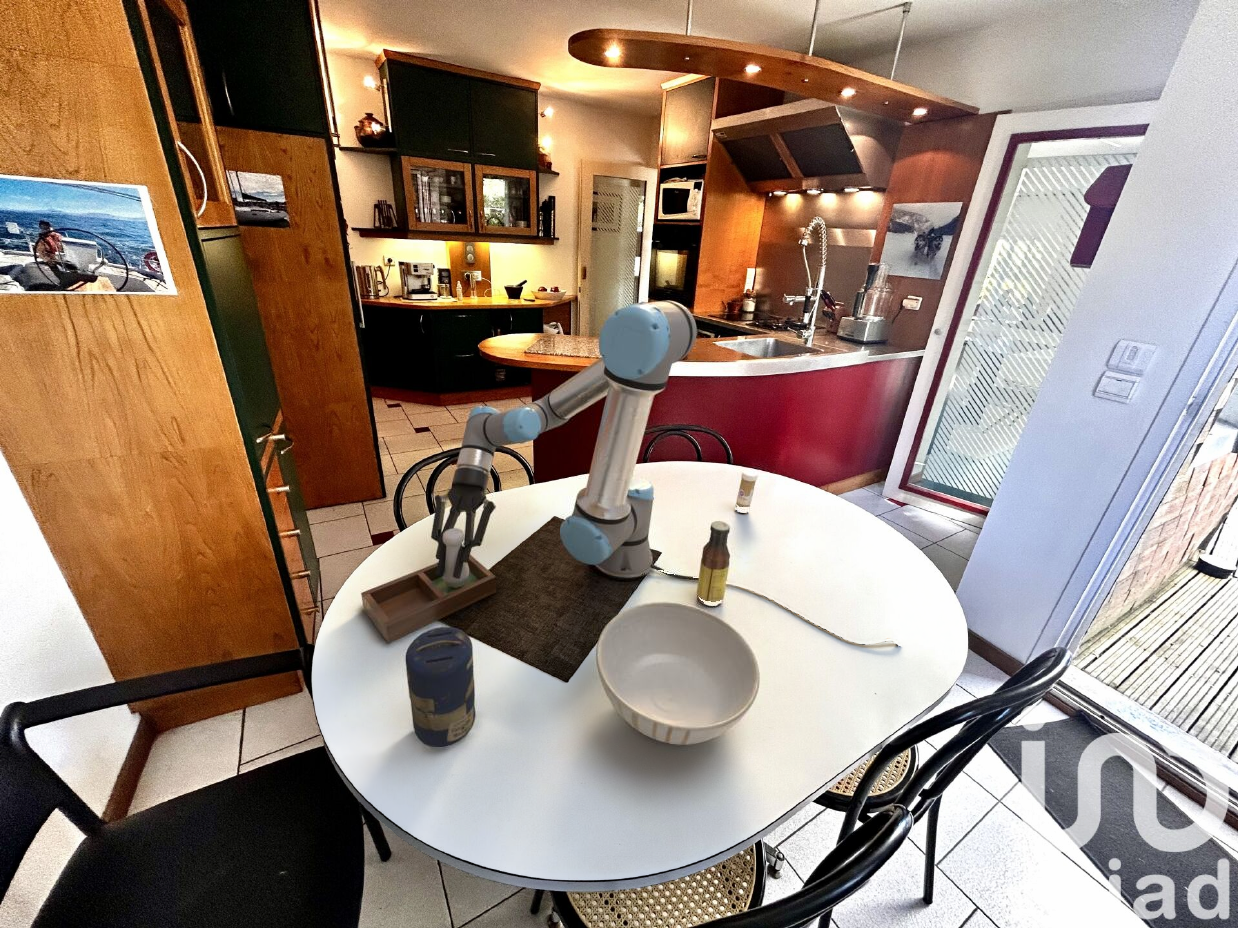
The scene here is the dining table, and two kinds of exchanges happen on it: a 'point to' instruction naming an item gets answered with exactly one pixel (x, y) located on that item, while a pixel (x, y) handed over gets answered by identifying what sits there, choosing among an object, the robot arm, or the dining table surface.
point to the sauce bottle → (714, 564)
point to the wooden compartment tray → (423, 599)
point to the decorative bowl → (676, 671)
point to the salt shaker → (453, 557)
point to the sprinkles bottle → (746, 488)
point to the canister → (441, 686)
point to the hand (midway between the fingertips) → (447, 576)
